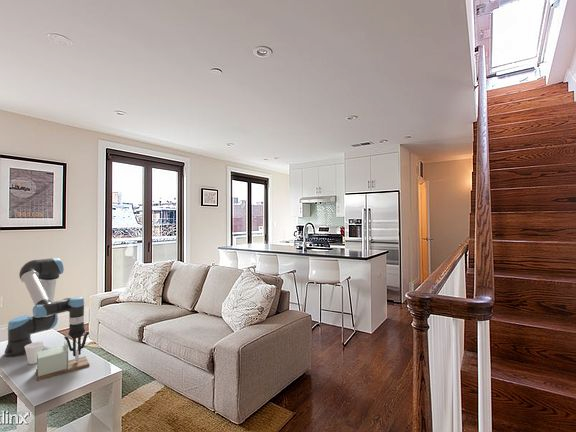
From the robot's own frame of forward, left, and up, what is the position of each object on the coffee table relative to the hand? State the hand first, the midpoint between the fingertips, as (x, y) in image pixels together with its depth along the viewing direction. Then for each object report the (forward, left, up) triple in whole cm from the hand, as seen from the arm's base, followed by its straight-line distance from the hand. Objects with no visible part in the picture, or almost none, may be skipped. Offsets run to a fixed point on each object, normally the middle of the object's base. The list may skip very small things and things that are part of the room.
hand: (76, 360), depth 192 cm
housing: (0, -12, -1) cm, 12 cm away
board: (0, -7, -3) cm, 8 cm away
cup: (-23, -20, -3) cm, 30 cm away
